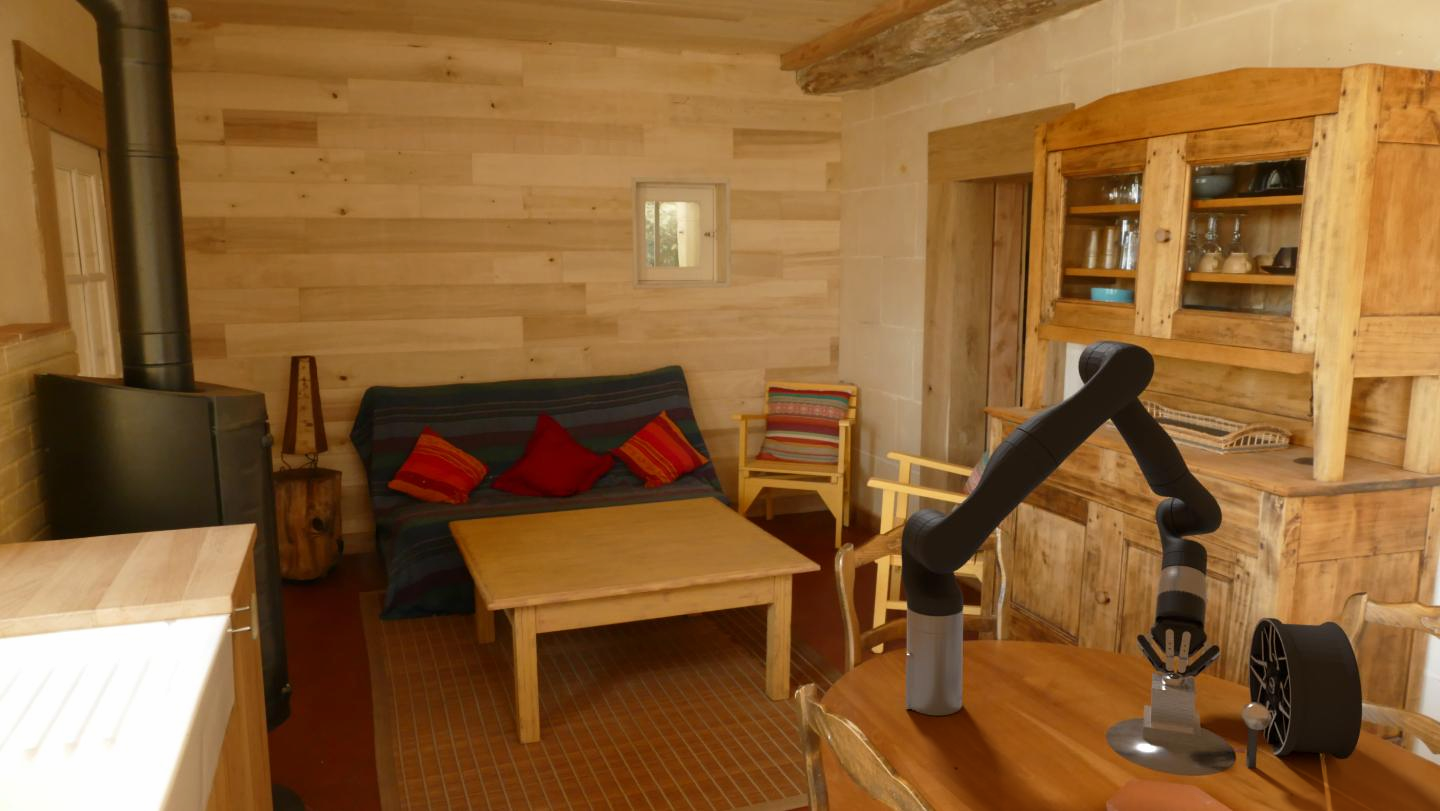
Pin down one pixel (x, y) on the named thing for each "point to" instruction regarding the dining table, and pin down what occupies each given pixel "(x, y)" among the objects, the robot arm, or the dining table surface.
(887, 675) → the dining table surface
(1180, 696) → the cover
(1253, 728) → the dial indicator post
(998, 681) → the dining table surface
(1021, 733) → the dining table surface
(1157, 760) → the turntable
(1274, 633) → the wheel rim
